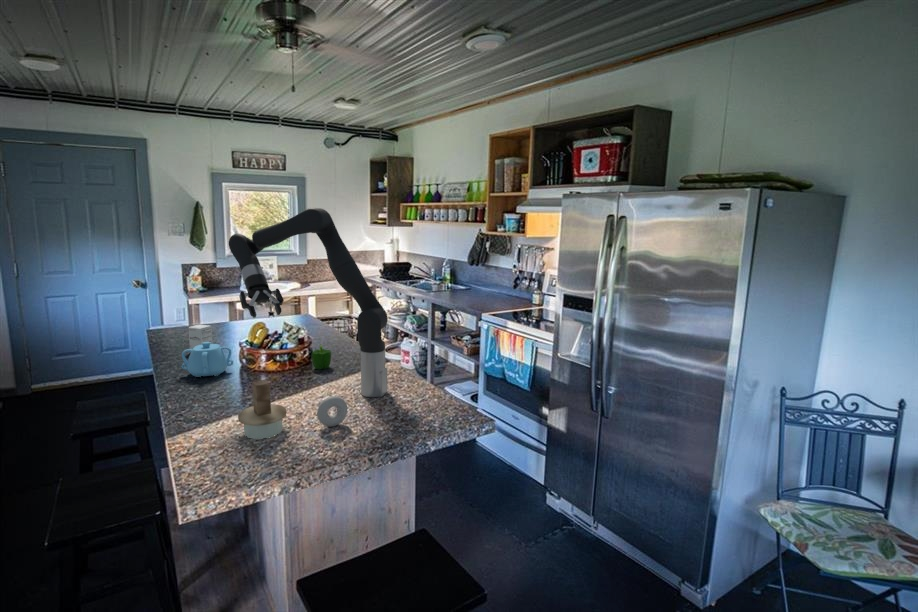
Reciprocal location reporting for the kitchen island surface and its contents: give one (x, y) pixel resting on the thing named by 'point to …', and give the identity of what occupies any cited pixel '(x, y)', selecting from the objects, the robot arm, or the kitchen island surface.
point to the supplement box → (199, 335)
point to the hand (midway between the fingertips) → (267, 315)
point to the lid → (261, 407)
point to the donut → (326, 405)
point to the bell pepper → (321, 358)
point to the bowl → (263, 430)
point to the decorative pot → (206, 360)
